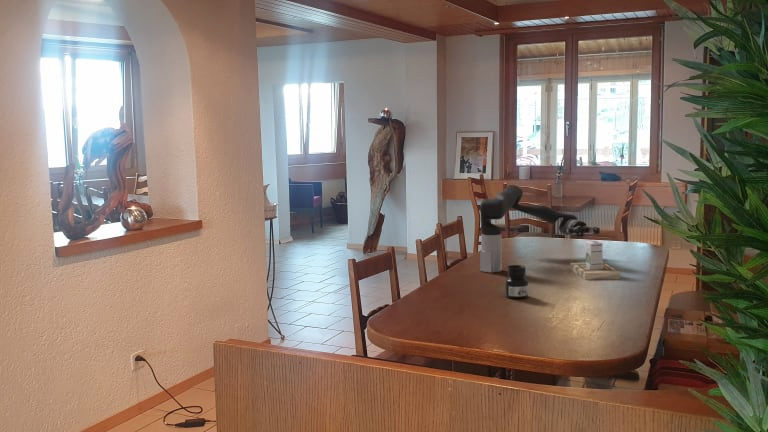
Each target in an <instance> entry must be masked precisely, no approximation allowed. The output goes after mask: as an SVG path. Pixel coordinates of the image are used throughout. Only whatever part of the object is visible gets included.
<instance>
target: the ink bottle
mask: <svg viewBox="0 0 768 432" xmlns="http://www.w3.org/2000/svg"><path fill="white" fill-rule="evenodd" d="M526 269H527V268H526V266H525V265H522V264H521V265H520V264H512V265H508V266H507V276H508V277H507V278H506V279H505V280H504V290H505V291H504V296H505V297H506V298H508V299H511V300H512V299H514V300H520V299H521V300H523V299H527V298H528V297H529V280H528V279H527V278H526Z"/></svg>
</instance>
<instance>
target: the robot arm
mask: <svg viewBox="0 0 768 432" xmlns="http://www.w3.org/2000/svg"><path fill="white" fill-rule="evenodd" d="M523 195H524V192H523V190H522V188H521V187H519V186H518V185H514V184H508V185H507V186H506V187H505V188H504V189H503V190H502V191H501V192H499V193H498V194H496V195H495V196H494V198H493V199H492V198H491V199H490V198H485V199H482V200H481V201H480V207H479V209H480V210H479V211H480V230H481V231H480V233H481V235H480V236H481V241H480V243H481V246H480V247H481V249H480V255H479V256H480V258H479V259H480V260H479V261H480V263H479V265H480V269H479V270H480V272H485V273H490V274H491V273H499V272H502V269H503V268H502V267H503V266H502V258H503V257H502V252H503V251H502V237H503V236H502V234H503V233H502V232H503V231H502V228H501V227H500V226H498V225H495V224H494V223H492V222H491V221H490V220H501V219H502V218H504V216H505V215H506V214H507V212H508V211H509V210H510V209H512V210H515V211H518V212H521V213H523V214H527V215H528V216H532V217H535V218H538V219H540V220H541V221H545V222H546V223H549V224H551V225H555V224H556V222H557V221H558V220H560V219H562V220H561V222H560V224H559V226H558V230H559V232H560V233H561V234H564V235H565V236H566V235H567V236H572V235H573V236H575V237H578V238H582V237H585V236H587V235H598V234H600V233H601V228H600V227H597V226H589V225H587V223H586V222H584V221H582V220H578V217H577V216H576V215H574V214H570V213H564V212H560V211H558V210H556V209H553V208H551V207H550V206H547V205H542V204H541V205H522V204H519V203H520V201H521V199H522V197H523Z"/></svg>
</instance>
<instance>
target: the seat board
mask: <svg viewBox="0 0 768 432" xmlns="http://www.w3.org/2000/svg"><path fill="white" fill-rule="evenodd" d="M570 270H571V271H573V273H575V274H576V275H578V276H579V277H580V278H582V279H583V280H585V281H586V280H587V281H589V280H593V281H594V280H619V279H620V271H618V270H617V269H615V268H614V267H612V266H610V265H608V264H606V263H605V262H603V269H591V270H587V269H586V262H570Z"/></svg>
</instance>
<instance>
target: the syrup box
mask: <svg viewBox="0 0 768 432" xmlns="http://www.w3.org/2000/svg"><path fill="white" fill-rule="evenodd" d="M603 248H604V247H603V243H602V242H600V241H598V240H589V241H585V263H586V269H587V270H591V269H603V263H604V262H603V256H604V255H603Z"/></svg>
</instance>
